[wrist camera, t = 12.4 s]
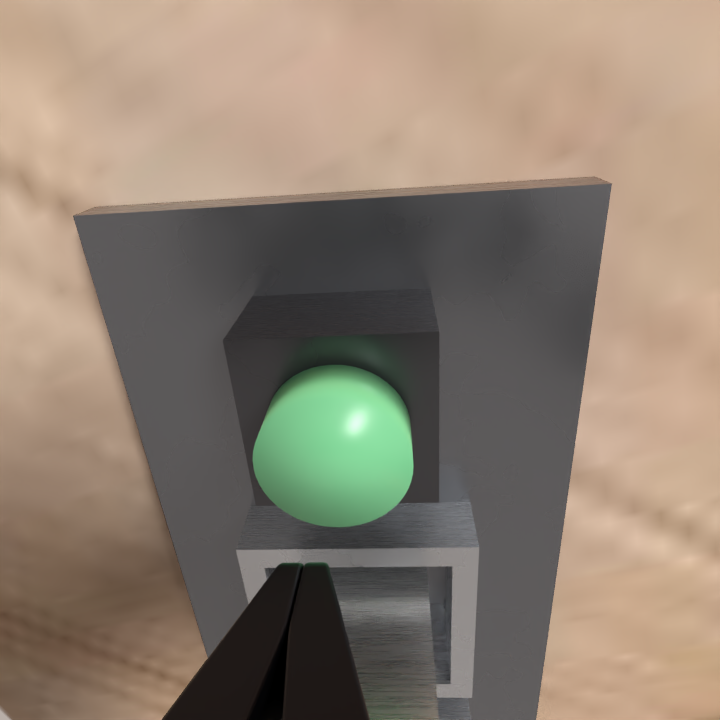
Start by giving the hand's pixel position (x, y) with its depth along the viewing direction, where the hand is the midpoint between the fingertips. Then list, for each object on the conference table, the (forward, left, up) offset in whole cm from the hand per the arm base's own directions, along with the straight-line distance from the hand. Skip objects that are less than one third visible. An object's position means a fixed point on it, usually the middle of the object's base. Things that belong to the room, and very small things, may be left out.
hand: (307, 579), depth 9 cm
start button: (0, 0, -5) cm, 5 cm away
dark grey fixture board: (-9, 0, -9) cm, 13 cm away
